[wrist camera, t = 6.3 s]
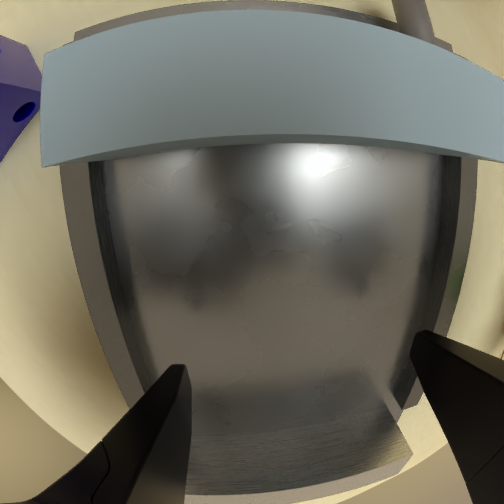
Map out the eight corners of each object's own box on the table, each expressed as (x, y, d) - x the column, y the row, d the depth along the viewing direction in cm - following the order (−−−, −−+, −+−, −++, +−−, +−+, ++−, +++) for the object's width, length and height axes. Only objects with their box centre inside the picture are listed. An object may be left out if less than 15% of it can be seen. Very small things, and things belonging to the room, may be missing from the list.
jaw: (420, 13, 6) (477, -15, 3) (438, 154, 8) (513, 164, 5) (116, -2, 5) (74, -54, 2) (111, 159, 7) (41, 167, 4)
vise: (440, 48, 7) (512, 27, 3) (392, 414, 14) (419, 464, 10) (84, 39, 6) (17, -6, 2) (164, 443, 13) (157, 505, 9)
